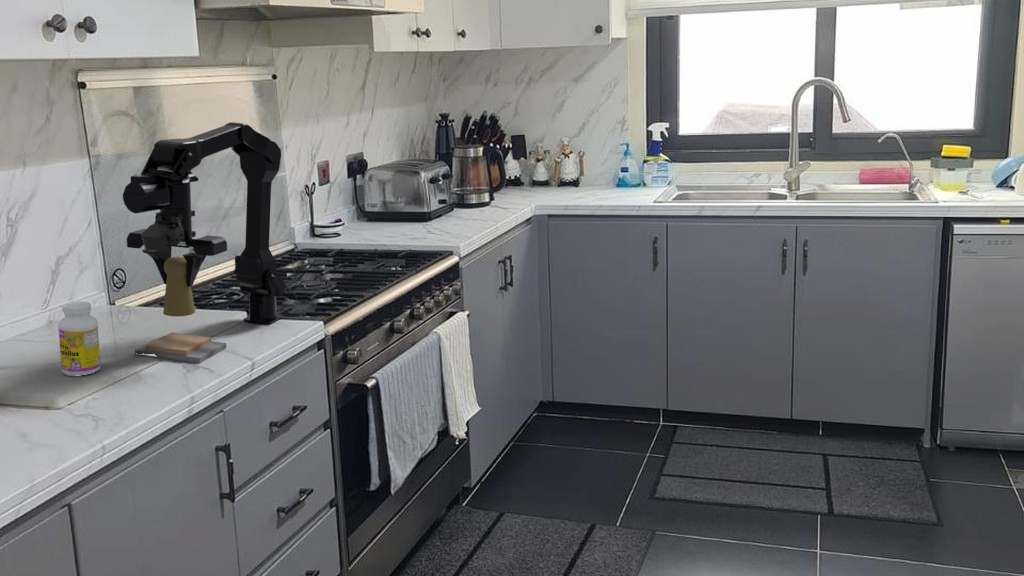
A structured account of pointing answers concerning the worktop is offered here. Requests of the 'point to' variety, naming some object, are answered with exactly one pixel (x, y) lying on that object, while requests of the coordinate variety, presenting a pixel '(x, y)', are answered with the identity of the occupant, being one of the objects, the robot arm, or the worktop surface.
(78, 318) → the supplement bottle
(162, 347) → the stand
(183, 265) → the cork
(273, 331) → the worktop surface
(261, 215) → the robot arm
